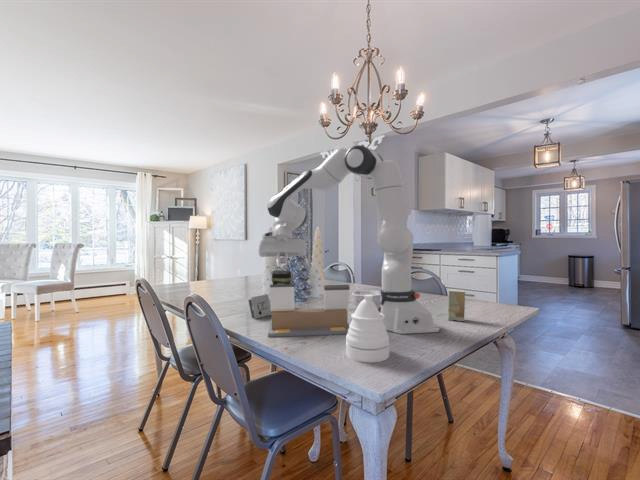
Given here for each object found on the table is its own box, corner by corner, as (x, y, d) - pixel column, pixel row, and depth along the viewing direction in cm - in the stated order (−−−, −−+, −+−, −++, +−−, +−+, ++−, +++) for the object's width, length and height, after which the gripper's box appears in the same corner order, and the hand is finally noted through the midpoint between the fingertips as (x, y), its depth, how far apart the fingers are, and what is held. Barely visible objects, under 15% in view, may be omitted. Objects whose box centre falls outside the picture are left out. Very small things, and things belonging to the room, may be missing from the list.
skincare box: (448, 320, 135) (448, 290, 135) (448, 317, 139) (448, 288, 139) (465, 321, 133) (465, 291, 132) (464, 319, 137) (464, 289, 137)
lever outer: (294, 309, 125) (294, 285, 128) (294, 309, 123) (294, 284, 126) (270, 310, 124) (270, 285, 127) (269, 309, 122) (270, 284, 125)
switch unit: (345, 322, 133) (345, 305, 133) (352, 333, 119) (352, 313, 119) (270, 325, 130) (270, 307, 130) (268, 337, 116) (267, 316, 116)
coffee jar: (269, 310, 156) (269, 271, 156) (274, 306, 164) (273, 269, 164) (290, 310, 155) (289, 271, 155) (293, 306, 163) (293, 269, 163)
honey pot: (395, 361, 93) (394, 297, 93) (349, 363, 92) (349, 299, 92) (382, 345, 106) (382, 289, 106) (342, 347, 105) (342, 290, 105)
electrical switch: (256, 319, 140) (254, 297, 140) (248, 318, 143) (246, 297, 144) (272, 315, 147) (270, 294, 148) (264, 314, 151) (263, 294, 151)
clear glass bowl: (351, 305, 165) (351, 289, 165) (382, 305, 163) (382, 289, 163) (351, 312, 150) (351, 295, 150) (385, 313, 148) (385, 295, 148)
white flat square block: (347, 306, 126) (348, 284, 123) (348, 309, 125) (349, 287, 121) (323, 307, 126) (324, 285, 122) (323, 310, 124) (324, 288, 120)
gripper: (305, 243, 151) (307, 266, 142) (260, 243, 149) (258, 267, 140) (306, 233, 147) (307, 257, 137) (259, 233, 145) (257, 258, 135)
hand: (282, 262), depth 138 cm, fingers closed
